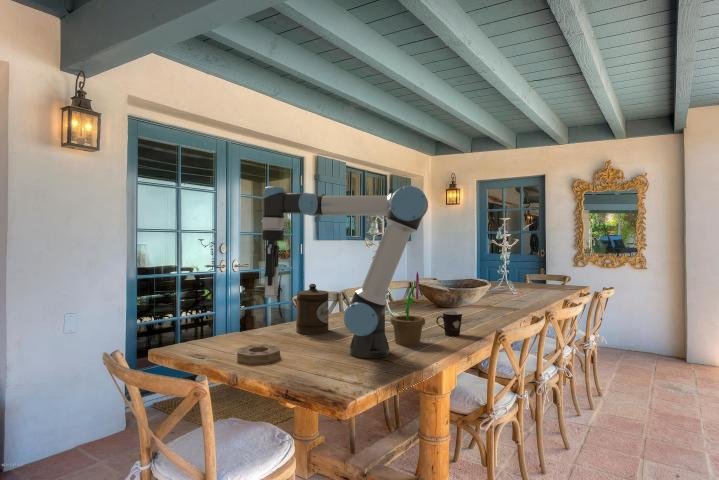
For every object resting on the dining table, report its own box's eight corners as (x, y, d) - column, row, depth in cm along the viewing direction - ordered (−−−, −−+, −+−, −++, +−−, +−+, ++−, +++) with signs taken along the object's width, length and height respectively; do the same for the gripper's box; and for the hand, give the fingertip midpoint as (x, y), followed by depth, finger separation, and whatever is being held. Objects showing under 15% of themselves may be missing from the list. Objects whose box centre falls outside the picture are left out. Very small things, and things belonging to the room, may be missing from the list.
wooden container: (326, 334, 202) (327, 285, 202) (293, 334, 203) (293, 285, 202) (329, 327, 217) (329, 282, 217) (298, 327, 217) (299, 281, 217)
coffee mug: (460, 333, 207) (460, 311, 207) (463, 337, 198) (463, 314, 198) (435, 332, 208) (435, 310, 208) (436, 336, 199) (436, 314, 199)
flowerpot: (423, 348, 180) (424, 272, 179) (388, 346, 183) (388, 272, 182) (425, 339, 194) (426, 269, 193) (392, 338, 197) (392, 269, 196)
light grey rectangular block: (277, 296, 167) (278, 266, 167) (275, 297, 163) (276, 267, 163) (267, 295, 167) (267, 266, 167) (264, 297, 163) (265, 266, 163)
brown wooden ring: (287, 355, 168) (287, 347, 168) (259, 366, 155) (259, 357, 155) (257, 350, 176) (257, 342, 176) (228, 359, 163) (228, 351, 163)
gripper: (267, 229, 173) (266, 290, 174) (257, 229, 156) (255, 296, 157) (287, 229, 173) (285, 290, 174) (279, 230, 156) (277, 297, 157)
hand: (271, 293), depth 165 cm, fingers closed on light grey rectangular block, 4 cm apart
